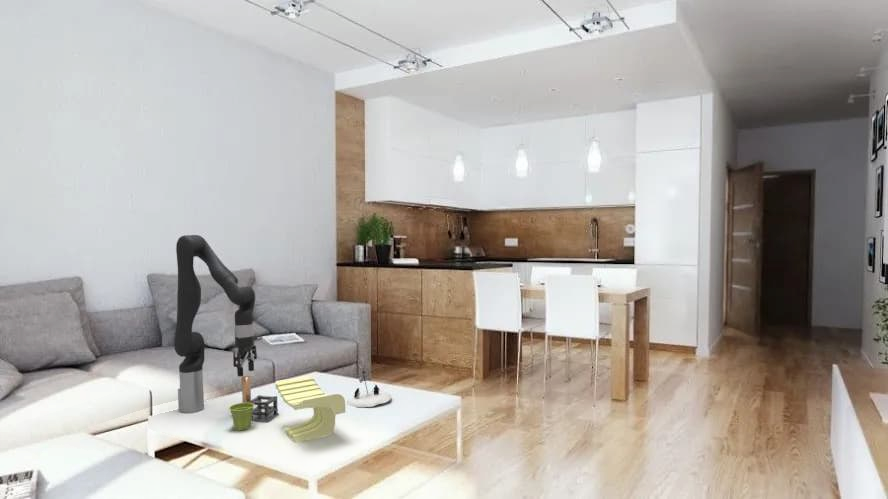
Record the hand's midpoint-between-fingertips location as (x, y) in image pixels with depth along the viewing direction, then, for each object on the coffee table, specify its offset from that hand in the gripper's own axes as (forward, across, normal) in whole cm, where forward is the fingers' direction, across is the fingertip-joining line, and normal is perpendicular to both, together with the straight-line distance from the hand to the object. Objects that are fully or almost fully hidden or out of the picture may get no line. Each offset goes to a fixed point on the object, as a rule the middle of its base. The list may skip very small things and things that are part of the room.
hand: (245, 373), depth 242 cm
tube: (+17, 0, 0) cm, 17 cm away
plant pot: (+18, +15, +6) cm, 24 cm away
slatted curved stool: (+18, +15, +35) cm, 42 cm away
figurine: (+18, -25, +45) cm, 55 cm away
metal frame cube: (+18, +3, +9) cm, 20 cm away
